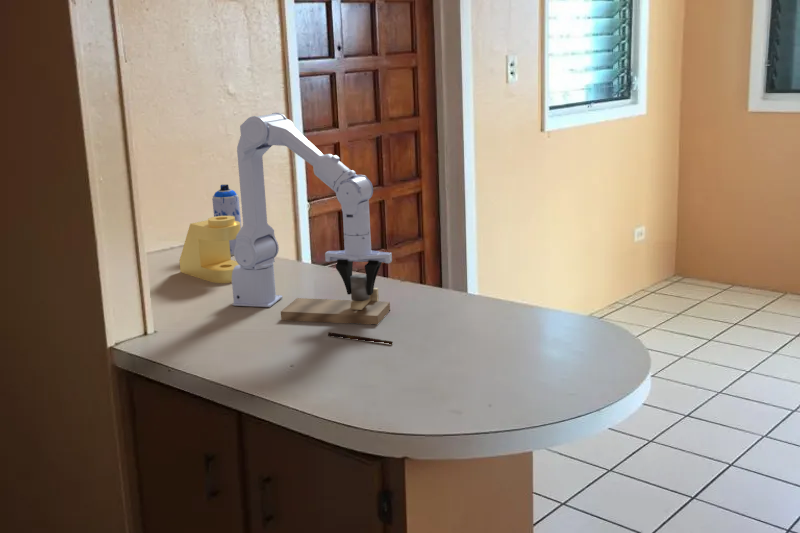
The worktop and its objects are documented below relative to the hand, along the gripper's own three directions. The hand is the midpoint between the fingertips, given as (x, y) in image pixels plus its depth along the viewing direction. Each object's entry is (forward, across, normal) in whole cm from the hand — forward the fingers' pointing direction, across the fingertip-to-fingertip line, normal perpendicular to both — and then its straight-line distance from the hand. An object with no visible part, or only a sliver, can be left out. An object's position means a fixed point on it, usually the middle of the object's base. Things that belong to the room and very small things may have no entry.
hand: (360, 293), depth 187 cm
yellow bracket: (+5, -49, +28) cm, 56 cm away
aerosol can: (+5, -56, +51) cm, 76 cm away
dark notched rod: (+5, +4, -16) cm, 17 cm away
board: (+5, -6, -1) cm, 7 cm away
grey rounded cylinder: (+4, 0, +1) cm, 4 cm away
